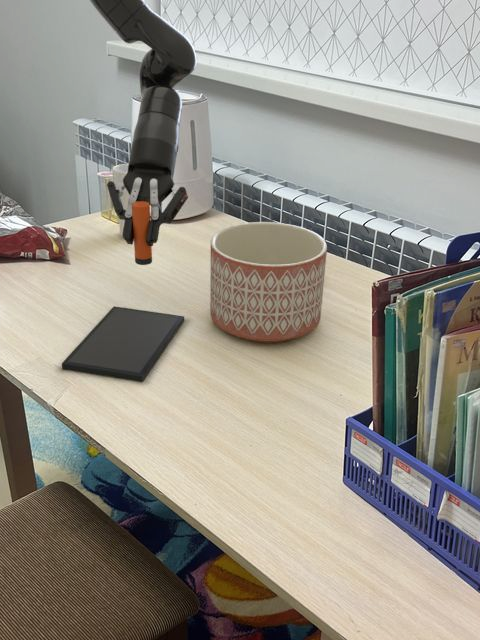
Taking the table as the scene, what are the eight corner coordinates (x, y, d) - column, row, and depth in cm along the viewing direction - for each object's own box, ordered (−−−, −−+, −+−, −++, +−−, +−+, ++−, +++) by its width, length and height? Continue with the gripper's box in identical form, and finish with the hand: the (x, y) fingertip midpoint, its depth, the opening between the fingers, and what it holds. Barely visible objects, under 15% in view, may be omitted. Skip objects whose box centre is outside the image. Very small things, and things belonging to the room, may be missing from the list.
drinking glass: (126, 227, 157) (122, 162, 150) (153, 232, 156) (150, 166, 148) (111, 237, 152) (106, 169, 144) (138, 242, 150) (135, 174, 142)
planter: (194, 306, 125) (193, 229, 118) (289, 290, 132) (293, 216, 125) (236, 358, 110) (238, 273, 103) (339, 336, 118) (349, 256, 110)
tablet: (62, 369, 106) (61, 363, 105) (114, 311, 122) (113, 305, 122) (142, 382, 103) (142, 376, 103) (184, 321, 120) (184, 316, 120)
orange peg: (132, 264, 114) (129, 205, 109) (138, 257, 117) (135, 200, 112) (148, 266, 114) (145, 207, 109) (154, 259, 116) (152, 202, 111)
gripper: (107, 132, 113) (90, 230, 108) (192, 138, 112) (178, 237, 107) (119, 156, 120) (103, 249, 116) (199, 162, 119) (185, 255, 115)
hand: (139, 243), depth 111 cm, fingers closed on orange peg, 2 cm apart
